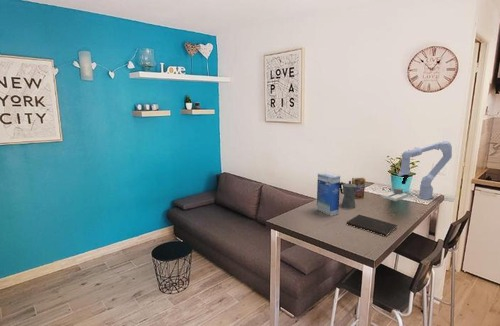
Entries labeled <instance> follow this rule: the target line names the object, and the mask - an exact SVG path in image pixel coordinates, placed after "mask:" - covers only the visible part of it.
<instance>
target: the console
mask: <svg viewBox="0 0 500 326" xmlns="http://www.w3.org/2000/svg"><path fill="white" fill-rule="evenodd" d="M393 191H394V190H392V191H389V192H386V193H382V194H381V197H380V198H383V199H386V200H389V201H393V202H398V201H400V200H402V199H406V198H408V193H404V192H403V193H402V194H397V193H393Z"/></svg>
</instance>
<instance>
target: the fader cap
mask: <svg viewBox="0 0 500 326" xmlns="http://www.w3.org/2000/svg"><path fill="white" fill-rule="evenodd" d="M392 191H393V193H397V194H402V193H404V189H403V188H399V187H395V188H393V190H392Z"/></svg>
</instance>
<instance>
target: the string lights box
mask: <svg viewBox="0 0 500 326" xmlns="http://www.w3.org/2000/svg"><path fill="white" fill-rule="evenodd" d="M340 183H341V174H340V175H339V174H334V173H331V172H327V171H324V172H318V173H317V188H316V189H317V191H316V210H319V211H318V212H320V211H321V212H320V213H322V212H323V213H322V214H325V213H326V214H325V215H327V214H328V215H327V216H329V215H330V216H329V217H333V216H336V214H337V215H339V214H340V213H339V212H340V211H339V208H340V194H341V191H340Z"/></svg>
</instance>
